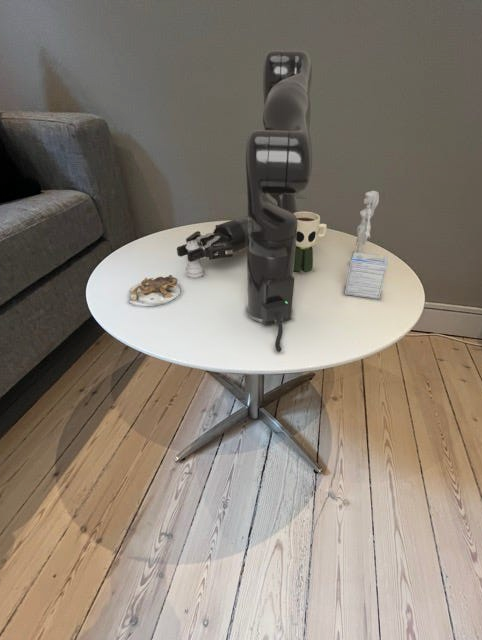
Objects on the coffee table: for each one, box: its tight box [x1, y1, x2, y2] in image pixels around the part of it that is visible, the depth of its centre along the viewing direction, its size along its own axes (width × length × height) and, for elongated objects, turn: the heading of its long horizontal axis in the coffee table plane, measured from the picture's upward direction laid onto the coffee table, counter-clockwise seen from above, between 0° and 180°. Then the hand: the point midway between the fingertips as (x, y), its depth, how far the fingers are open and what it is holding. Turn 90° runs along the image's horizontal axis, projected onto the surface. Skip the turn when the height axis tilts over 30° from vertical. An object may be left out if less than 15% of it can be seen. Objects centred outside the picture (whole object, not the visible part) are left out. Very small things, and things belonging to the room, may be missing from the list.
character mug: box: [293, 211, 328, 273], centre depth 95 cm, size 11×7×13 cm, turn 94°
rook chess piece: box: [185, 241, 205, 279], centre depth 93 cm, size 4×4×8 cm
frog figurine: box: [128, 274, 182, 307], centre depth 87 cm, size 12×12×4 cm
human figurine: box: [349, 190, 380, 264], centre depth 96 cm, size 12×4×18 cm, turn 173°
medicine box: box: [344, 251, 389, 300], centre depth 87 cm, size 8×4×9 cm, turn 74°
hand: (183, 254), depth 90 cm, fingers closed on rook chess piece, 3 cm apart
